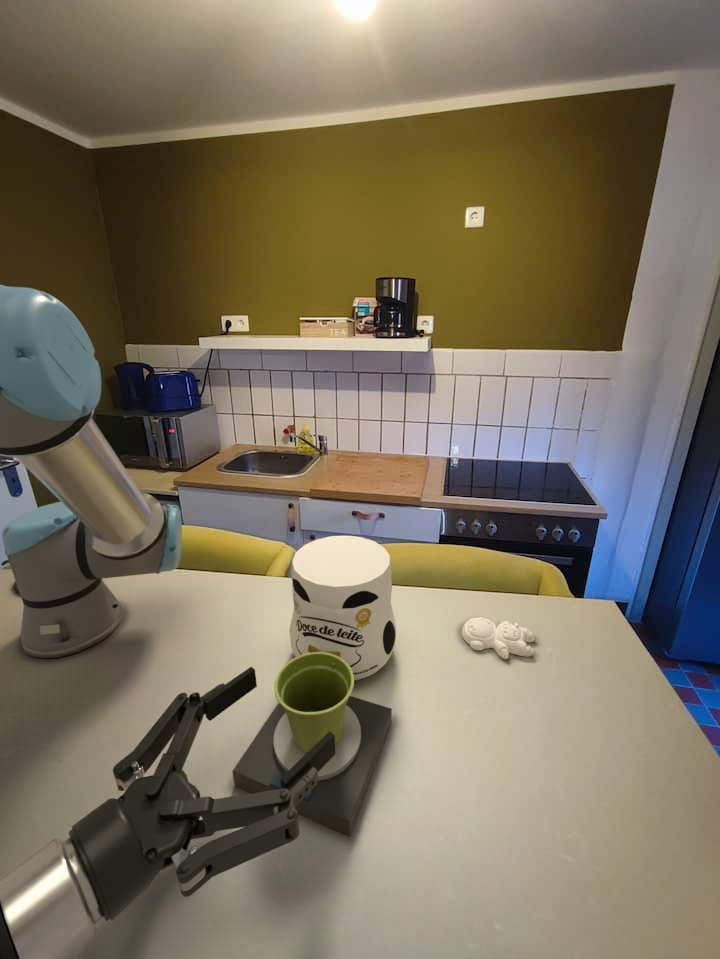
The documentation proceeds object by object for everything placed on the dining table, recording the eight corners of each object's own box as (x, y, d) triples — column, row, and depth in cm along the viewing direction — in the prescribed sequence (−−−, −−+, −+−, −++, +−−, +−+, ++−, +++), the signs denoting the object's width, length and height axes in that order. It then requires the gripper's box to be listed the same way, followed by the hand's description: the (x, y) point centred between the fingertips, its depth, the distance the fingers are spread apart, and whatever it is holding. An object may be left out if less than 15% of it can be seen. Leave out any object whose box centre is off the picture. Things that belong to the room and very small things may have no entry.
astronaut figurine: (530, 669, 68) (533, 653, 67) (456, 644, 73) (457, 629, 72) (537, 635, 75) (539, 621, 74) (469, 615, 81) (470, 601, 80)
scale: (234, 785, 51) (231, 766, 50) (296, 690, 64) (294, 673, 63) (350, 836, 46) (349, 816, 45) (391, 722, 59) (392, 704, 58)
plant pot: (345, 777, 49) (343, 720, 46) (267, 761, 51) (261, 706, 48) (361, 708, 57) (361, 657, 54) (294, 697, 59) (290, 647, 56)
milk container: (302, 707, 62) (295, 602, 55) (284, 629, 77) (276, 541, 71) (412, 677, 67) (417, 578, 60) (374, 610, 82) (375, 526, 76)
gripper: (47, 802, 43) (231, 676, 58) (165, 1070, 27) (374, 804, 42) (26, 748, 40) (224, 631, 55) (144, 1011, 25) (374, 750, 40)
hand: (290, 706), depth 49 cm, fingers open, 13 cm apart
